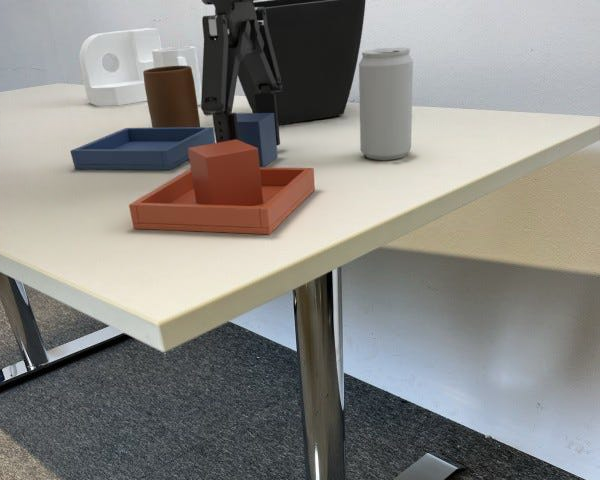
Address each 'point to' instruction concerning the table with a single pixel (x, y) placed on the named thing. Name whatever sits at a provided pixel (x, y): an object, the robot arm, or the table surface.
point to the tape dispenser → (118, 65)
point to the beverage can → (385, 103)
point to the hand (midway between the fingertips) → (252, 157)
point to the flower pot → (311, 56)
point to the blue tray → (142, 148)
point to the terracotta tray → (223, 218)
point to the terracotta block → (226, 174)
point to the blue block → (259, 134)
